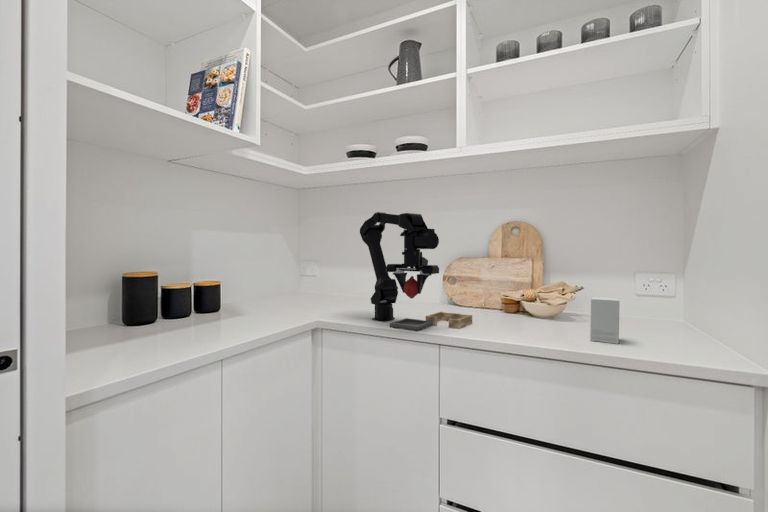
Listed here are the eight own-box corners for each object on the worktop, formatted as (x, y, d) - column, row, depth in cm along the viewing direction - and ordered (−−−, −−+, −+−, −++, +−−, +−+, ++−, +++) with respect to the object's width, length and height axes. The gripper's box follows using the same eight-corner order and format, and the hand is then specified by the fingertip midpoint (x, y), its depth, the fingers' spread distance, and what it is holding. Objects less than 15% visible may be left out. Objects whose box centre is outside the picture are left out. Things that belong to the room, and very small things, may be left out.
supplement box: (619, 344, 105) (619, 300, 105) (589, 340, 109) (590, 298, 109) (618, 339, 111) (619, 297, 111) (590, 336, 115) (591, 296, 115)
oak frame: (425, 324, 132) (425, 316, 132) (440, 319, 142) (440, 311, 142) (459, 328, 125) (459, 320, 125) (472, 323, 135) (472, 315, 135)
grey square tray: (389, 327, 127) (389, 322, 127) (406, 322, 136) (406, 318, 136) (417, 331, 121) (417, 326, 121) (432, 325, 130) (432, 321, 130)
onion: (418, 300, 125) (419, 276, 125) (402, 299, 127) (402, 276, 126) (420, 297, 131) (420, 275, 131) (404, 297, 132) (404, 275, 132)
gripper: (446, 249, 130) (445, 292, 130) (401, 248, 140) (401, 289, 141) (431, 249, 121) (431, 296, 121) (385, 248, 131) (385, 292, 131)
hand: (411, 293), depth 129 cm, fingers closed on onion, 6 cm apart
